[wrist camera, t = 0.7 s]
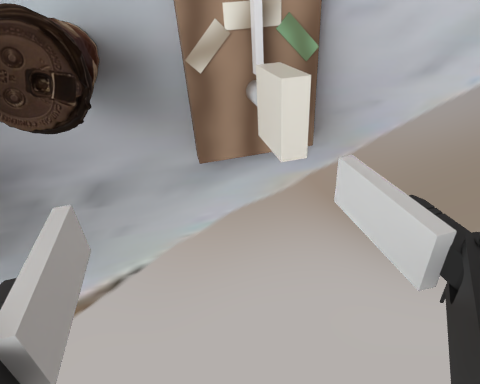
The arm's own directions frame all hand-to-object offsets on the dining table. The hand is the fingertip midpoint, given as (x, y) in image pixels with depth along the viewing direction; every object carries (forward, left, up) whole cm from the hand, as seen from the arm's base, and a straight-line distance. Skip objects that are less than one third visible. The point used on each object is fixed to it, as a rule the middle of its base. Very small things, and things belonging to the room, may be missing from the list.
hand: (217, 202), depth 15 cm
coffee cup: (-11, +5, -25) cm, 27 cm away
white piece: (+8, +3, -22) cm, 23 cm away
